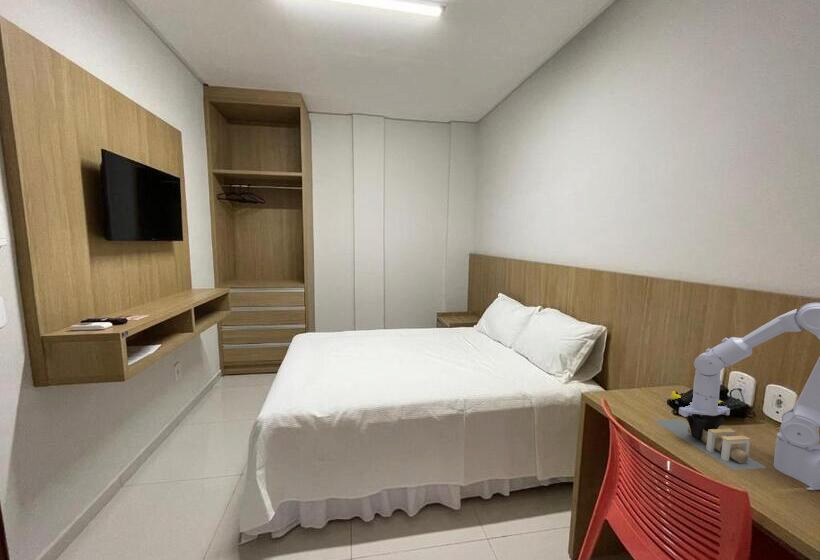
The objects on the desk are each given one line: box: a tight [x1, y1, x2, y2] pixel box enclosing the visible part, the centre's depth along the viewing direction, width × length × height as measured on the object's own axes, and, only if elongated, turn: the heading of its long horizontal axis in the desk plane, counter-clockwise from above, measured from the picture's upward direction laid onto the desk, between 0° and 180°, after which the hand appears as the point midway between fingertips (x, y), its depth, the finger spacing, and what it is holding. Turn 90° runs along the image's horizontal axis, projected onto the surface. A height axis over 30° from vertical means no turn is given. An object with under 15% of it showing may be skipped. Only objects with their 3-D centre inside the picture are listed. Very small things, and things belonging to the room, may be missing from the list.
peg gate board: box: [652, 418, 768, 471], centre depth 97 cm, size 25×10×7 cm, turn 6°
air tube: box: [688, 426, 748, 463], centre depth 94 cm, size 14×3×3 cm, turn 6°
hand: (701, 438), depth 98 cm, fingers closed on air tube, 3 cm apart
